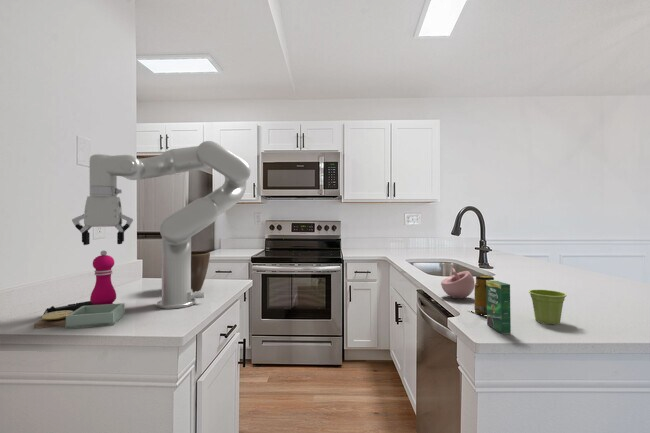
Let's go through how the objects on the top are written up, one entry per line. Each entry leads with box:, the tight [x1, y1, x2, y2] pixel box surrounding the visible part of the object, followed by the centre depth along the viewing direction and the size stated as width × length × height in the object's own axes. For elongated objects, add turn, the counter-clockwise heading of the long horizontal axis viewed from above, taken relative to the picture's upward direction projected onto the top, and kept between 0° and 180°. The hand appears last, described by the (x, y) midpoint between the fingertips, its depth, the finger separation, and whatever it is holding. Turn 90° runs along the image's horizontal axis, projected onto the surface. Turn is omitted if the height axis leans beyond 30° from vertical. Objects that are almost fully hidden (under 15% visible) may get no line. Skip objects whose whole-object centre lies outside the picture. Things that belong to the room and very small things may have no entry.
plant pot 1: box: [191, 250, 211, 292], centre depth 142 cm, size 15×15×16 cm
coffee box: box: [486, 279, 512, 335], centre depth 93 cm, size 8×3×13 cm, turn 1°
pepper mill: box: [89, 250, 117, 305], centre depth 111 cm, size 7×7×20 cm
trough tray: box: [65, 302, 126, 330], centre depth 100 cm, size 12×12×4 cm
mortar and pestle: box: [440, 267, 476, 299], centre depth 129 cm, size 12×12×12 cm
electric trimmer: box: [42, 300, 94, 315], centre depth 110 cm, size 4×16×3 cm, turn 142°
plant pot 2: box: [528, 289, 567, 325], centre depth 99 cm, size 9×9×9 cm
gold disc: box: [41, 310, 73, 321], centre depth 98 cm, size 7×7×2 cm
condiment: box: [468, 274, 495, 318], centre depth 108 cm, size 7×8×12 cm
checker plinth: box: [33, 318, 66, 329], centre depth 98 cm, size 8×8×1 cm
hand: (103, 244), depth 111 cm, fingers open, 9 cm apart
